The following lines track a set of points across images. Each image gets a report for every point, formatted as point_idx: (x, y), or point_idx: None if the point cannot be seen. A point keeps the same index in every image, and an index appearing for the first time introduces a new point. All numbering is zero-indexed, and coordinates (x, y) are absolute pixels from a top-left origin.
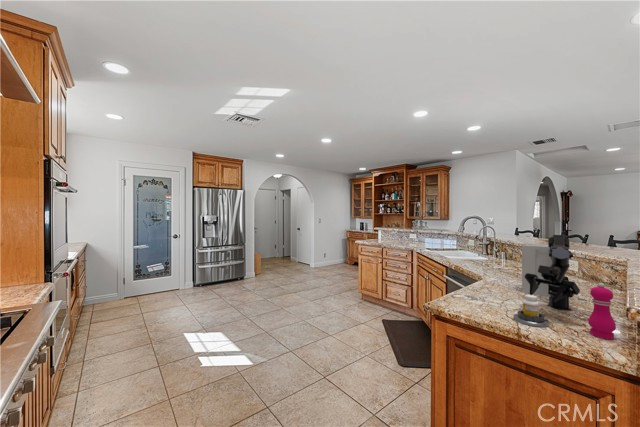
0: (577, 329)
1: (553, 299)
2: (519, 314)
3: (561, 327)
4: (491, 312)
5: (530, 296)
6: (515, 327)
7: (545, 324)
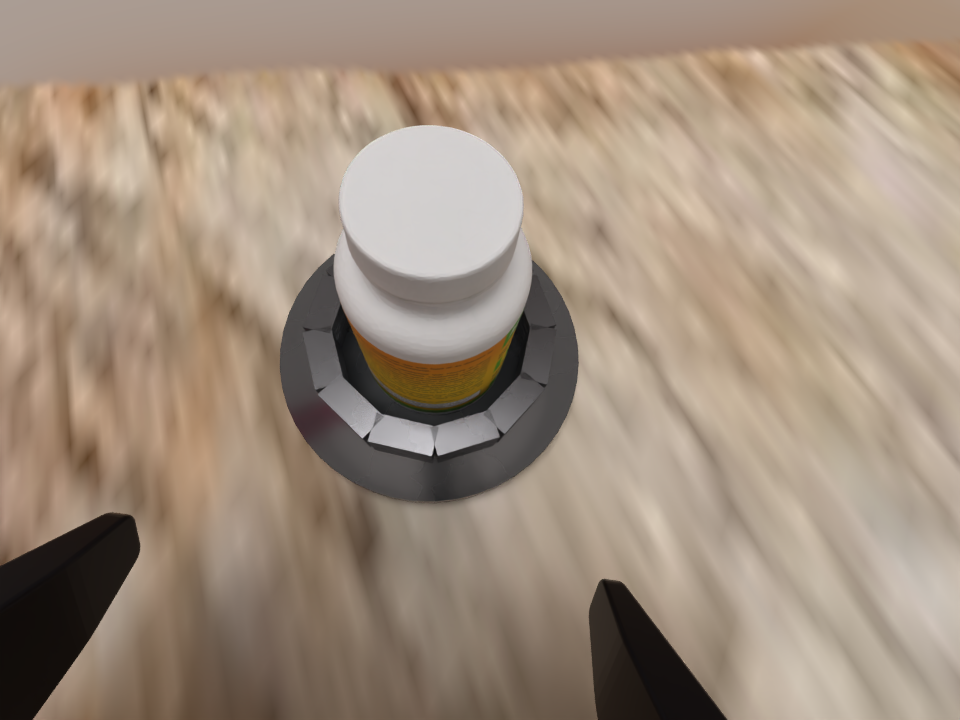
0: None
1: (119, 519)
2: None
3: (201, 450)
4: (732, 291)
5: (421, 160)
6: None
7: (293, 306)
